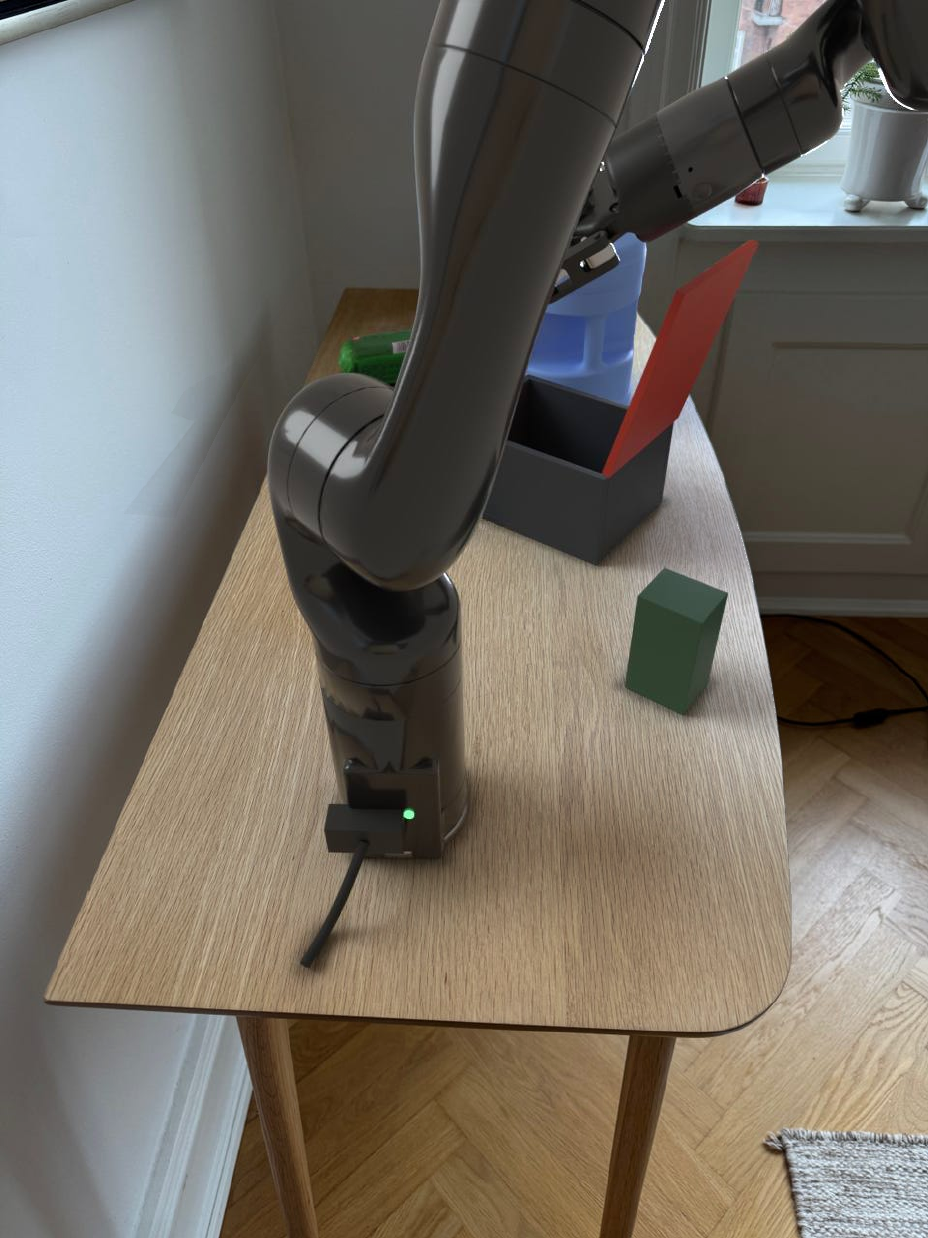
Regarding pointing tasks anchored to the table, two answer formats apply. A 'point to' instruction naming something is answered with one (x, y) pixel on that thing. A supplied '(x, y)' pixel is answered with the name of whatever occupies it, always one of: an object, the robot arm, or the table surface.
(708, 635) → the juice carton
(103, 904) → the table surface
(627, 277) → the water jug
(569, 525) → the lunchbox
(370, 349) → the snack package
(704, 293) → the lunchbox lid
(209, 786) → the table surface
